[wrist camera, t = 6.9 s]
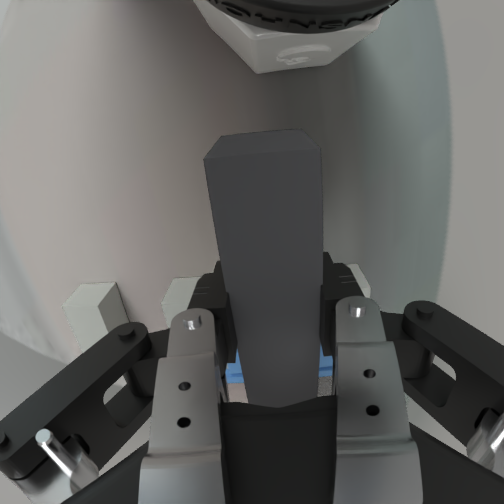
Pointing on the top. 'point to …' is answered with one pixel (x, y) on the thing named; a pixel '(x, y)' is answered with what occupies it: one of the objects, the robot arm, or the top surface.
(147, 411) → the robot arm
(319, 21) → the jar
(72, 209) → the top surface
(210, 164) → the tall dark pillar
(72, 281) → the top surface
